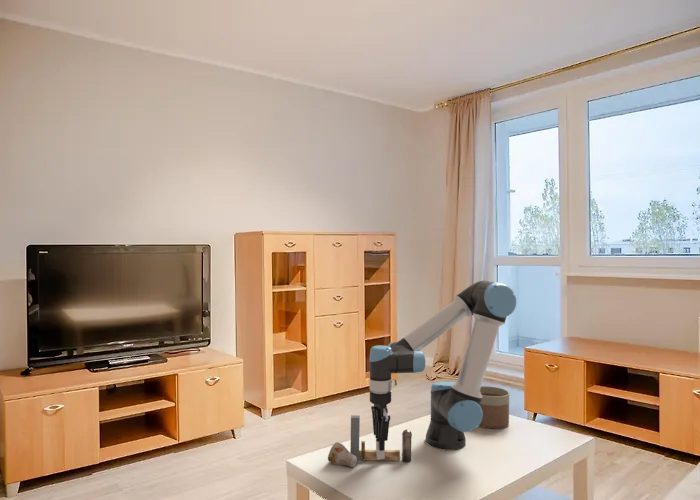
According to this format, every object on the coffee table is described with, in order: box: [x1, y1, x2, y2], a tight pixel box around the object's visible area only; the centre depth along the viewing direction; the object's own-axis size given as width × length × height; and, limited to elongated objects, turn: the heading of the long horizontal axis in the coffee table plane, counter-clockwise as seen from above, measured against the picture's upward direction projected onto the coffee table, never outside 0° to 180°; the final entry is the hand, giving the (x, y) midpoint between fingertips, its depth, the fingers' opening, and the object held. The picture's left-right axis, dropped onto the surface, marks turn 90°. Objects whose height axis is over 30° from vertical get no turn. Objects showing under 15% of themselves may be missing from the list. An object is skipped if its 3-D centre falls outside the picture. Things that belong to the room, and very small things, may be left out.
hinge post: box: [401, 429, 413, 464], centre depth 182 cm, size 3×3×11 cm
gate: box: [360, 440, 401, 461], centre depth 182 cm, size 14×2×6 cm, turn 91°
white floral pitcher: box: [327, 441, 358, 468], centre depth 179 cm, size 8×10×10 cm
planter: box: [478, 385, 510, 429], centre depth 222 cm, size 16×16×14 cm
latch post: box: [349, 414, 361, 462], centre depth 183 cm, size 6×4×15 cm, turn 87°
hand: (380, 458), depth 180 cm, fingers closed
